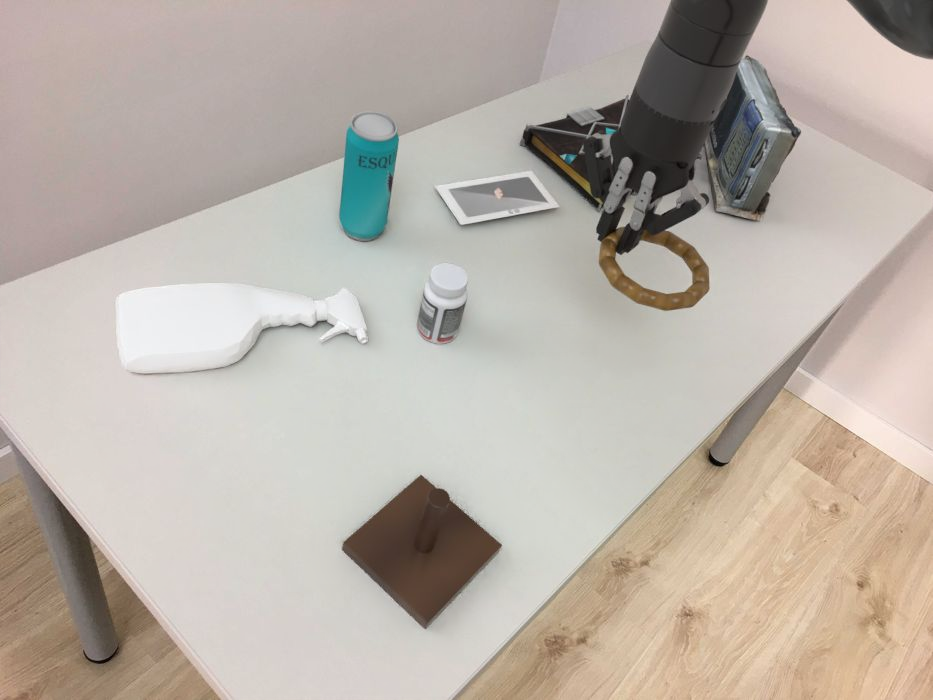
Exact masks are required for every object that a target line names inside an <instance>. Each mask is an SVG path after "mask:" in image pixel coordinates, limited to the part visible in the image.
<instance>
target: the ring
mask: <svg viewBox="0 0 933 700" xmlns="http://www.w3.org/2000/svg"><path fill="white" fill-rule="evenodd" d="M624 229H625V226H620V227H617V228H616V230H615V231H613V232H612V233H611V234H610V235H608V236H607V237H606V238H604V239H603V240H602V242H600V245H599V254H598V266H599V267H600V269H601V271H602V272H603V274H604V276H605V278H606V279H607V281H608V282H609V284H610V285H611V287H612V288H613V289H615V290H616V291H618V292H620V293H621V294H622V295H623V296H625V297H626V298H628V299H630V300H631V301H632V302H634V303H636V304H638V305H641V306H645V307H648V308H652V309H656V310H659V311H660V310H661V311H663V312H670V311H676V310H683V309H691V308H693V307H695V306H696V305H697V304H698V303H699V302H700V301H701V300H702V299H703V298H704V297H705V296H706V295H707V294H708V293H709V291H710V288H711V287H710V268H709V266H708V264H707V263H706V261H705V260H704V259H703V257H702V256H701V255H700V253H699V252H698V250H697V249H696V248H695V246H693V245H692V244H690V243H689V242H688V241H686V240H684V239H683V238H681V237H679V236H678V235H677V234H675V233H673V232H672V231H668V230H667V229H666V230H664V231H662V232H660V233H658V234H656V235H651V234H649V233H648V231H647V230H645V231H644V233H643V235H642V237H641V239H640V242H646V243H649V244H654V245H657V246H661V247H664V248H665V249H667V250H669V251H670V252H672V253H673V254H675V255H676V256H678V257H679V258H681V260H682V261H683V262H684V263H685V265H686V267H687V268H688V269H689V270H690V272H691V276H692V277H691V278H692V284H691V285H690V286H689V287H688V288H687V289H686V290H684V291H678V292H671V293H664V292H661V291H657V290H655V289H651V288H646V287H644V286H642V285H641V284H639V283H638V282H636V281H635V280H634V279H632V278H631V277H629V276H628V275H626V274H625V272H624V271H623V269H622V268H621V266H620V264H618V261H617V259H616V256H617V253H616V247H617V245H618V242H619V240H620V238H621V236H622V233H623V231H624Z"/></svg>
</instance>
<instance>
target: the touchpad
mask: <svg viewBox="0 0 933 700" xmlns="http://www.w3.org/2000/svg"><path fill="white" fill-rule="evenodd" d="M434 188H435V189H436V191H437V192H438V194H439V195H440V197H441V198H442V200H443V201H444V203H445V204H446V205H447V207H448V208H449V210H450V212H451V213H452V214H453V216H454V217H455V219H456V220H457V222H458V224H459V225H460V226H462V225H463V226H464V225H469V224H474V223H475V224H476V223H479V222H485V221H491V220H495V219H500V218H501V219H502V218H508V217H512V216H513V217H514V216H517V215H522V214H528V213H534V212H539V211H545V210H549V209H555V208H556V209H557V208H560V205H559V203H558V202H557V201H556V200H555V199H554V197H553V196H552V194H550V192H549V191H548V189H547V188H546V187H545V186H544V185H543V183H542V182H541V181H540V179H539V178H538V177H537V175H536V174H535V173H534V172H533V170H526V171H521V172H514V173H508V174H502V175H495V176H489V177H483V178H476V179H470V180H464V181H456V182H451V183H444V184H439V185H434Z"/></svg>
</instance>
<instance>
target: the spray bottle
mask: <svg viewBox="0 0 933 700" xmlns="http://www.w3.org/2000/svg"><path fill="white" fill-rule="evenodd" d="M114 309H115V310H114V311H115V331H116V333H115V334H116V347H117V352H118V356H119V362H120V365H121V367H122V368H123V370H124V371H125V372H129V373H136V374H163V373H187V372H197V371H205V370H212V369H218V368H219V369H220V368H226V367H229V366H230V365H232V364H233V365H234V364H235V363H238V362H240V361H241V359H242V358H243V357H244V356H245V355H246V354H247V353H248V352H249V350H251V348H252V347H253V346H254V345H255V343H256V342H257V339H258V338H259V337H260V334H261V333H262V330H265V329H267V328H271V327H273V328H274V327H275V328H276V327H279V326H281V325H283V326H290V327H292V326H295V325H296V326H297V325H298V324H302V325H304V326H307V327H309V328H311V327H313V326H314V325H316V324H317V322H321V321H322V322H324V321H326V322H327V323H328V324H330V325H332V326H333V327H332V328H330V329H329V330H328V331H326V332H324V334H323V335H322V336H321V337H319V339H318V340H319V342H320V343H323V342H325V341H327V340H329V339H331V338H334V337H335V336H337V335H340V334H344V333H347V334H348V335H350V336H354V337H355V336H356V338H357V340H358V343H360V344H366V343H368V341H369V337H368V333H367V332H368V328H367V325H366V321H365V318H364V314H363V312H362V309H361V306H360V303H359V300H358V298H357V297H356V296H355V295H354V294H353V293H351V292H350V291H349V290H348V289H347V288H346V287H342V288H341V289H340V291H338V293H336V294H333V295H332V296H328V297H324V299H314V298H313V297H312V296H307V295H303V294H298V293H294V292H290V291H285V290H280V289H273V288H268V287H261V286H256V285H253V284H247V283H234V282H233V283H231V282H202V283H200V282H199V283H198V282H197V283H179V284H170V285H161V286H160V285H159V286H151V287H150V286H149V287H141V288H136V289H131V290H129V291H125V292H122V293H120V294H119V295H117V296H116V298H115V302H114Z"/></svg>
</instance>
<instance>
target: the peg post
mask: <svg viewBox="0 0 933 700" xmlns="http://www.w3.org/2000/svg"><path fill="white" fill-rule="evenodd" d="M502 546H503V545H502V544H501V543H500V541H498V540H497V539H496V538H494V536H493V535H491V534H490V533H489V532H488V531H486V530H485V529H484V528H483V527H482V526H481V525H480V524H478V523H477V522H476V521H475V520H474V519H473V518H472V517H471V516H469V515H468V514H467V513H466V512H465V511H464V510H463V509H462V508H460V507H459V506H458V505H457V504H455V503H454V502H453V501H452V500H451V496H450V494H449V493H448V491H446V490H445V489H443V488H439V487H436V486H435V485H434V484H433V483H431V482H430V481H429V480H428V479H427V478H425V476H423V475H422V474H419V475H418V476H417V477H416V478H415V479H414V480H413V481H411V482H410V483H409V484H408V485H407V486H406V487H405V488H404V489H402V490H401V491H400V492H399V493H398V494H397V495H396V496H394V497H393V498H392V499H391V500H390V501H389V502H387V503H386V504H385V505H384V506H383V507H381V509H380V510H378V511H377V512H376V513H375V514H374V515H373V516H371V517H370V518H369V519H368V520H367V521H365V523H364V524H362V526H360V527H359V528H358V529H357V530H356V531H354V532H353V533H352V534H351V535H350V536H348V537H347V538H346V539H345V540H344V541H343V542H342V549H341V550H342V551H343V553H345V555H346V556H348V557H349V558H350V559H351V560H352V561H353V562H354V563H355V564H356V565H357V566H358V567H359V568H360V569H361V570H362V571H364V573H365V574H366V575H367V576H368V577H370V579H372V581H373V582H375V583H376V584H377V585H378V586H379V587H380V589H382V590H383V591H384V592H385V593H387V595H388V596H389V597H391V598H392V599H393V600H394V601H395V602H396V603H397V604H398V605H399V606H400V607H401V608H402V609H403V610H404V611H405V612H406V613H408V615H409V616H411V618H412V619H414V621H416V622H417V623H418V625H420V626H421V627H422V628H423V629H424V630H427V628H429V626H430V625H431V624H432V623H433V622H434V621H435V620H436V619H437V618H438V617H439V616H440V615H441V614H442V613H443V612H444V611H445V609H446V608H448V606H450V604H452V602H453V601H454V600H455V599H456V598H457V597H458V596H459V595H460V594H461V593H462V592H463V590H465V589H466V588H467V587H468V585H470V583H471V582H473V580H474V579H475V578H476V577H477V576H478V575H479V574H480V573H481V572H482V571H483V570H484V569H485V567H487V566H488V564H489V563H491V561H492V560H494V558H495V557H496V556H497V555H498V554H499V553H500V550H501V549H502Z"/></svg>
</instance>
